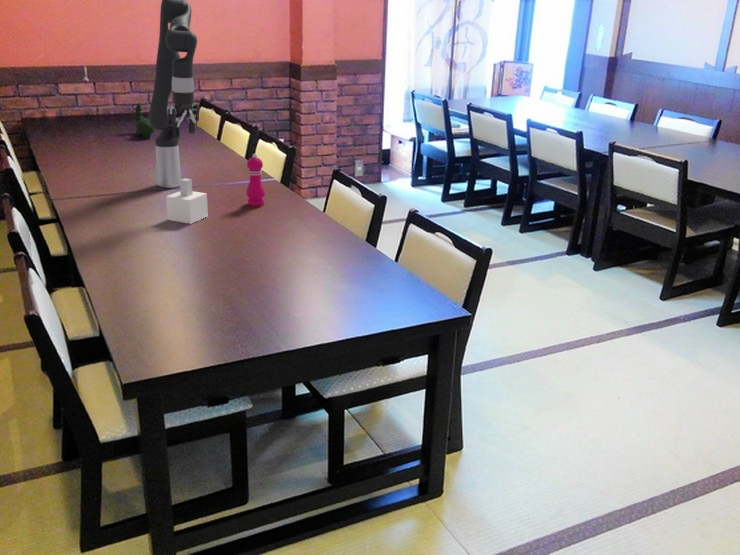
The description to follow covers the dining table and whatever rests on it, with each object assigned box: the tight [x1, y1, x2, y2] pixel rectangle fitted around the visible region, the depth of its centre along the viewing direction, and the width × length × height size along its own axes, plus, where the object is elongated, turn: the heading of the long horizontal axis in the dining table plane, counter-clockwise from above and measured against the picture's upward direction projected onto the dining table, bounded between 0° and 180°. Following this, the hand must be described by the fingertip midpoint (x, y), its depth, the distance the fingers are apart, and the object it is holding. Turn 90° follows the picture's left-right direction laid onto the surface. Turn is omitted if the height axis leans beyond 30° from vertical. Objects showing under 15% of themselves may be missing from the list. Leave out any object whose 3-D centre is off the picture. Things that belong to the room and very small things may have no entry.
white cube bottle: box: [165, 178, 209, 225], centre depth 247 cm, size 10×10×14 cm
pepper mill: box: [246, 153, 266, 207], centre depth 266 cm, size 7×7×20 cm
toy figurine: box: [134, 102, 155, 140], centre depth 381 cm, size 9×19×25 cm
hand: (184, 135), depth 249 cm, fingers open, 8 cm apart
